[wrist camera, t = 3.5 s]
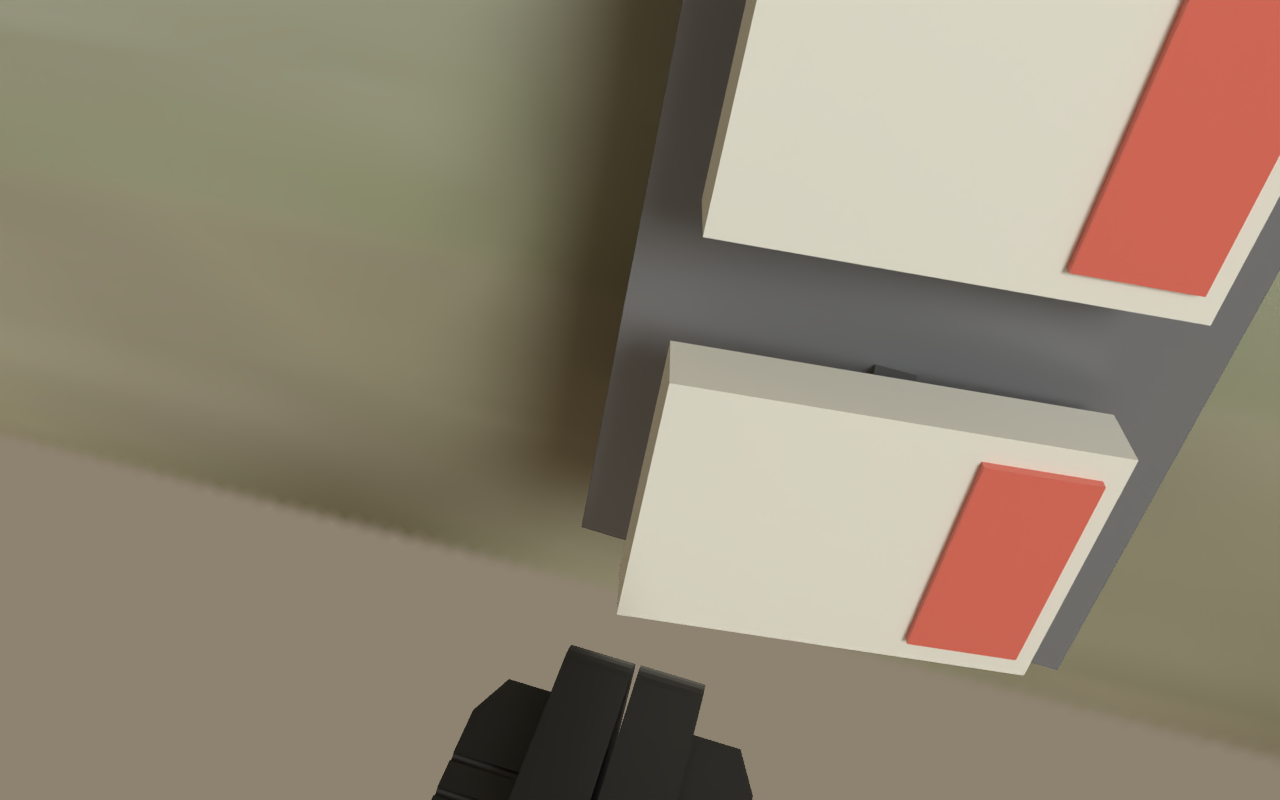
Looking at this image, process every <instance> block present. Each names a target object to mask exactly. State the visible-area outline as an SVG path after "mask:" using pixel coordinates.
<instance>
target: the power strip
mask: <svg viewBox="0 0 1280 800" xmlns="http://www.w3.org/2000/svg"><path fill="white" fill-rule="evenodd" d="M745 4H746V0H683V2H682V7H681V12H680V17H679V22H678V28H677V33H676V38H675V43H674V48H673V54H672V59H671V64H670V69H669V74H668V80H667V85H666V90H665V95H664V100H663V106H662V111H661V116H660V121H659V126H658V132H657V137H656V142H655V147H654V152H653V158H652V163H651V168H650V173H649V178H648V184H647V189H646V194H645V199H644V205H643V210H642V215H641V220H640V225H639V231H638V236H637V241H636V246H635V251H634V257H633V262H632V267H631V272H630V277H629V283H628V288H627V293H626V298H625V303H624V309H623V314H622V319H621V324H620V329H619V335H618V340H617V345H616V350H615V355H614V361H613V366H612V371H611V376H610V381H609V387H608V392H607V397H606V402H605V407H604V413H603V418H602V423H601V428H600V433H599V439H598V444H597V449H596V454H595V460H594V465H593V470H592V475H591V480H590V486H589V491H588V496H587V501H586V506H585V512H584V517H583V522H582V527H583V528H587V529H590V530H593V531H597V532H600V533H603V534H607V535H610V536H613V537H617V538H620V539H623V540H626V537H627V533H628V528H629V524H630V519H631V515H632V510H633V506H634V501H635V497H636V492H637V488H638V483H639V479H640V474H641V470H642V465H643V461H644V456H645V452H646V447H647V443H648V438H649V434H650V430H651V425H652V421H653V416H654V412H655V407H656V403H657V398H658V394H659V389H660V385H661V380H662V376H663V371H664V367H665V362H666V358H667V353H668V349H669V344H670V340H671V341H677V342H682V343H688V344H694V345H700V346H706V347H712V348H718V349H724V350H730V351H736V352H742V353H748V354H754V355H760V356H766V357H772V358H778V359H784V360H790V361H796V362H802V363H808V364H814V365H820V366H826V367H831V368H837V369H843V370H849V371H855V372H861V373H867V374H873V375H879V376H885V377H891V378H897V379H903V380H909V381H915V382H921V383H927V384H933V385H939V386H945V387H951V388H957V389H963V390H969V391H975V392H981V393H986V394H992V395H998V396H1004V397H1010V398H1016V399H1022V400H1028V401H1034V402H1040V403H1046V404H1052V405H1058V406H1064V407H1070V408H1076V409H1082V410H1088V411H1094V412H1100V413H1106V414H1112V415H1114V416H1115V418H1116V420H1117V422H1118V423H1119V425H1120V427H1121V429H1122V431H1123V433H1124V435H1125V436H1126V438H1127V440H1128V442H1129V444H1130V446H1131V447H1132V449H1133V451H1134V453H1135V455H1136V457H1137V459H1138V460H1139V461H1138V462H1137V464H1136V466H1135V468H1134V470H1133V472H1132V474H1131V476H1130V477H1129V479H1128V481H1127V483H1126V485H1125V487H1124V489H1123V491H1122V492H1121V494H1120V496H1119V498H1118V500H1117V502H1116V504H1115V506H1114V507H1113V509H1112V511H1111V513H1110V515H1109V517H1108V519H1107V521H1106V522H1105V524H1104V526H1103V528H1102V530H1101V532H1100V534H1099V535H1098V537H1097V539H1096V541H1095V543H1094V545H1093V547H1092V549H1091V550H1090V552H1089V554H1088V556H1087V558H1086V560H1085V562H1084V564H1083V565H1082V567H1081V569H1080V571H1079V573H1078V575H1077V577H1076V579H1075V580H1074V582H1073V584H1072V586H1071V588H1070V590H1069V592H1068V594H1067V595H1066V597H1065V599H1064V601H1063V603H1062V605H1061V607H1060V609H1059V610H1058V612H1057V614H1056V616H1055V618H1054V620H1053V622H1052V623H1051V625H1050V627H1049V629H1048V631H1047V633H1046V635H1045V637H1044V638H1043V640H1042V642H1041V644H1040V646H1039V648H1038V650H1037V652H1036V653H1035V655H1034V657H1033V659H1032V661H1031V662H1032V663H1035V664H1038V665H1042V666H1045V667H1048V668H1052V669H1055V670H1058V668H1059V666H1060V664H1061V662H1062V661H1063V659H1064V657H1065V655H1066V653H1067V652H1068V650H1069V648H1070V646H1071V644H1072V643H1073V641H1074V639H1075V637H1076V635H1077V634H1078V632H1079V630H1080V628H1081V626H1082V625H1083V623H1084V621H1085V619H1086V617H1087V616H1088V614H1089V612H1090V610H1091V608H1092V607H1093V605H1094V603H1095V601H1096V599H1097V598H1098V596H1099V594H1100V592H1101V590H1102V589H1103V587H1104V585H1105V583H1106V581H1107V580H1108V578H1109V576H1110V574H1111V572H1112V571H1113V569H1114V567H1115V565H1116V563H1117V562H1118V560H1119V558H1120V556H1121V555H1122V553H1123V551H1124V549H1125V547H1126V546H1127V544H1128V542H1129V540H1130V538H1131V537H1132V535H1133V533H1134V531H1135V529H1136V528H1137V526H1138V524H1139V522H1140V520H1141V519H1142V517H1143V515H1144V513H1145V511H1146V510H1147V508H1148V506H1149V504H1150V502H1151V501H1152V499H1153V497H1154V495H1155V493H1156V492H1157V490H1158V488H1159V486H1160V484H1161V483H1162V481H1163V479H1164V477H1165V475H1166V474H1167V472H1168V470H1169V468H1170V466H1171V465H1172V463H1173V461H1174V459H1175V457H1176V456H1177V454H1178V452H1179V450H1180V448H1181V447H1182V445H1183V443H1184V441H1185V439H1186V438H1187V436H1188V434H1189V432H1190V430H1191V429H1192V427H1193V425H1194V423H1195V421H1196V420H1197V418H1198V416H1199V414H1200V412H1201V411H1202V409H1203V407H1204V405H1205V403H1206V402H1207V400H1208V398H1209V396H1210V394H1211V393H1212V391H1213V389H1214V387H1215V385H1216V384H1217V382H1218V380H1219V378H1220V377H1221V375H1222V373H1223V371H1224V369H1225V368H1226V366H1227V364H1228V362H1229V360H1230V359H1231V357H1232V355H1233V353H1234V351H1235V350H1236V348H1237V346H1238V344H1239V342H1240V341H1241V339H1242V337H1243V335H1244V333H1245V332H1246V330H1247V328H1248V326H1249V324H1250V323H1251V321H1252V319H1253V317H1254V315H1255V314H1256V312H1257V310H1258V308H1259V306H1260V305H1261V303H1262V301H1263V299H1264V297H1265V296H1266V294H1267V292H1268V290H1269V288H1270V287H1271V285H1272V283H1273V281H1274V279H1275V278H1276V276H1277V274H1278V272H1279V270H1280V197H1279V198H1278V200H1277V202H1276V204H1275V206H1274V208H1273V210H1272V212H1271V213H1270V215H1269V217H1268V219H1267V221H1266V223H1265V225H1264V227H1263V228H1262V230H1261V232H1260V234H1259V236H1258V238H1257V240H1256V242H1255V243H1254V245H1253V247H1252V249H1251V251H1250V253H1249V255H1248V257H1247V258H1246V260H1245V262H1244V264H1243V266H1242V268H1241V270H1240V271H1239V273H1238V275H1237V277H1236V279H1235V281H1234V283H1233V285H1232V286H1231V288H1230V290H1229V292H1228V294H1227V296H1226V298H1225V300H1224V301H1223V303H1222V305H1221V307H1220V309H1219V311H1218V313H1217V315H1216V316H1215V318H1214V320H1213V322H1212V324H1211V326H1209V325H1203V324H1198V323H1192V322H1186V321H1180V320H1175V319H1169V318H1163V317H1158V316H1152V315H1146V314H1140V313H1135V312H1129V311H1123V310H1117V309H1112V308H1106V307H1100V306H1094V305H1089V304H1083V303H1077V302H1072V301H1066V300H1060V299H1054V298H1049V297H1043V296H1037V295H1031V294H1026V293H1020V292H1014V291H1009V290H1003V289H997V288H991V287H986V286H980V285H974V284H968V283H963V282H957V281H951V280H946V279H940V278H934V277H928V276H923V275H917V274H911V273H905V272H900V271H894V270H888V269H883V268H877V267H871V266H865V265H860V264H854V263H848V262H842V261H837V260H831V259H825V258H819V257H814V256H808V255H802V254H797V253H791V252H785V251H779V250H774V249H768V248H762V247H756V246H751V245H745V244H739V243H734V242H728V241H722V240H716V239H711V238H705V237H703V228H702V196H703V192H704V187H705V183H706V179H707V174H708V170H709V165H710V161H711V156H712V152H713V147H714V143H715V138H716V134H717V129H718V125H719V120H720V116H721V111H722V107H723V102H724V98H725V93H726V89H727V84H728V80H729V75H730V71H731V66H732V62H733V58H734V53H735V49H736V44H737V40H738V35H739V31H740V26H741V22H742V17H743V13H744V8H745Z"/></svg>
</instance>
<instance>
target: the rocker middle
mask: <svg viewBox="0 0 1280 800" xmlns="http://www.w3.org/2000/svg"><path fill="white" fill-rule="evenodd" d="M1279 197H1280V0H746V4H745V8H744V13H743V17H742V22H741V26H740V31H739V35H738V40H737V44H736V49H735V53H734V58H733V62H732V66H731V71H730V75H729V80H728V84H727V89H726V93H725V98H724V102H723V107H722V111H721V116H720V120H719V125H718V129H717V134H716V138H715V143H714V147H713V152H712V156H711V161H710V165H709V170H708V174H707V179H706V183H705V187H704V192H703V196H702V228H703V237H705V238H711V239H716V240H722V241H728V242H734V243H739V244H745V245H751V246H756V247H762V248H768V249H774V250H779V251H785V252H791V253H797V254H802V255H808V256H814V257H819V258H825V259H831V260H837V261H842V262H848V263H854V264H860V265H865V266H871V267H877V268H883V269H888V270H894V271H900V272H905V273H911V274H917V275H923V276H928V277H934V278H940V279H946V280H951V281H957V282H963V283H968V284H974V285H980V286H986V287H991V288H997V289H1003V290H1009V291H1014V292H1020V293H1026V294H1031V295H1037V296H1043V297H1049V298H1054V299H1060V300H1066V301H1072V302H1077V303H1083V304H1089V305H1094V306H1100V307H1106V308H1112V309H1117V310H1123V311H1129V312H1135V313H1140V314H1146V315H1152V316H1158V317H1163V318H1169V319H1175V320H1180V321H1186V322H1192V323H1198V324H1203V325H1209V326H1211V324H1212V322H1213V320H1214V318H1215V316H1216V315H1217V313H1218V311H1219V309H1220V307H1221V305H1222V303H1223V301H1224V300H1225V298H1226V296H1227V294H1228V292H1229V290H1230V288H1231V286H1232V285H1233V283H1234V281H1235V279H1236V277H1237V275H1238V273H1239V271H1240V270H1241V268H1242V266H1243V264H1244V262H1245V260H1246V258H1247V257H1248V255H1249V253H1250V251H1251V249H1252V247H1253V245H1254V243H1255V242H1256V240H1257V238H1258V236H1259V234H1260V232H1261V230H1262V228H1263V227H1264V225H1265V223H1266V221H1267V219H1268V217H1269V215H1270V213H1271V212H1272V210H1273V208H1274V206H1275V204H1276V202H1277V200H1278V198H1279Z"/></svg>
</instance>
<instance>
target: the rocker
mask: <svg viewBox="0 0 1280 800" xmlns="http://www.w3.org/2000/svg"><path fill="white" fill-rule="evenodd" d="M1138 461H1139V460H1138V459H1137V457H1136V455H1135V453H1134V451H1133V449H1132V447H1131V446H1130V444H1129V442H1128V440H1127V438H1126V436H1125V435H1124V433H1123V431H1122V429H1121V427H1120V425H1119V423H1118V422H1117V420H1116V418H1115V416H1114V415H1112V414H1106V413H1100V412H1094V411H1088V410H1082V409H1076V408H1070V407H1064V406H1058V405H1052V404H1046V403H1040V402H1034V401H1028V400H1022V399H1016V398H1010V397H1004V396H998V395H992V394H986V393H981V392H975V391H969V390H963V389H957V388H951V387H945V386H939V385H933V384H927V383H921V382H915V381H909V380H903V379H897V378H891V377H885V376H879V375H873V374H867V373H861V372H855V371H849V370H843V369H837V368H831V367H826V366H820V365H814V364H808V363H802V362H796V361H790V360H784V359H778V358H772V357H766V356H760V355H754V354H748V353H742V352H736V351H730V350H724V349H718V348H712V347H706V346H700V345H694V344H688V343H682V342H677V341H671V340H670V344H669V349H668V353H667V358H666V362H665V367H664V371H663V376H662V380H661V385H660V389H659V394H658V398H657V403H656V407H655V412H654V416H653V421H652V425H651V430H650V434H649V438H648V443H647V447H646V452H645V456H644V461H643V465H642V470H641V474H640V479H639V483H638V488H637V492H636V497H635V501H634V506H633V510H632V515H631V519H630V524H629V528H628V533H627V537H626V542H625V546H624V551H623V555H622V559H621V564H620V574H619V588H618V602H617V614H618V615H624V616H631V617H638V618H645V619H651V620H658V621H665V622H671V623H678V624H684V625H691V626H698V627H704V628H711V629H718V630H724V631H731V632H737V633H744V634H751V635H757V636H764V637H771V638H777V639H784V640H791V641H797V642H804V643H811V644H817V645H824V646H831V647H837V648H844V649H851V650H857V651H864V652H871V653H877V654H884V655H891V656H897V657H904V658H911V659H917V660H924V661H931V662H937V663H944V664H951V665H957V666H964V667H971V668H977V669H984V670H991V671H997V672H1004V673H1010V674H1017V675H1024V674H1025V672H1026V670H1027V668H1028V667H1029V665H1030V663H1031V661H1032V659H1033V657H1034V655H1035V653H1036V652H1037V650H1038V648H1039V646H1040V644H1041V642H1042V640H1043V638H1044V637H1045V635H1046V633H1047V631H1048V629H1049V627H1050V625H1051V623H1052V622H1053V620H1054V618H1055V616H1056V614H1057V612H1058V610H1059V609H1060V607H1061V605H1062V603H1063V601H1064V599H1065V597H1066V595H1067V594H1068V592H1069V590H1070V588H1071V586H1072V584H1073V582H1074V580H1075V579H1076V577H1077V575H1078V573H1079V571H1080V569H1081V567H1082V565H1083V564H1084V562H1085V560H1086V558H1087V556H1088V554H1089V552H1090V550H1091V549H1092V547H1093V545H1094V543H1095V541H1096V539H1097V537H1098V535H1099V534H1100V532H1101V530H1102V528H1103V526H1104V524H1105V522H1106V521H1107V519H1108V517H1109V515H1110V513H1111V511H1112V509H1113V507H1114V506H1115V504H1116V502H1117V500H1118V498H1119V496H1120V494H1121V492H1122V491H1123V489H1124V487H1125V485H1126V483H1127V481H1128V479H1129V477H1130V476H1131V474H1132V472H1133V470H1134V468H1135V466H1136V464H1137V462H1138Z"/></svg>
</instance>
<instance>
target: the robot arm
mask: <svg viewBox="0 0 1280 800" xmlns="http://www.w3.org/2000/svg"><path fill="white" fill-rule="evenodd" d="M634 669H635V664H633V663H630V662H627V661H623V660H620V659H617V658H613V657H610V656H607V655H603V654H600V653H596V652H593V651H590V650H587V649H583V648H580V647H577V646H573V645H571V646H570V648H569V650H568V652H567V654H566V656H565V658H564V661H563V663H562V666H561V669H560V671H559V674H558V676H557V679H556V681H555V683H554V686H553V688H552V691H551V692H549V691H546V690H543V689H539V688H536V687H533V686H530V685H526V684H523V683H520V682H517V681H513V680H510V679H509V680H507V681H506V682H505V683H504V684H503V685H502V686H501V687H499V688H498V689H497V690H496V691H495V692H494V693H493V694H491V695H490V696H489V697H488V698H487V699H485V700H484V701H483V702H482V703H481V704H480V705H479V706H477V707H476V708H475V709H474V710H473V712H472V714H471V716H470V718H469V720H468V723H467V725H466V727H465V729H464V731H463V733H462V735H461V738H460V740H459V742H458V744H457V746H456V748H455V751H454V754H453V757H452V759H451V760H450V761H449V763H448V765H447V768H446V770H445V772H444V774H443V776H442V778H441V780H440V783H439V785H438V788H437V791H436V794H435V796H433V798H432V800H752V797H753V795H752V792H751V788H750V784H749V780H748V776H747V773H746V769H745V765H744V761H743V757H742V754H741V750H740V749H737V748H734V747H731V746H727V745H724V744H721V743H718V742H714V741H711V740H708V739H704V738H701V737H698V736H695V735H693V734H694V730H695V726H696V722H697V718H698V714H699V710H700V706H701V702H702V697H703V693H704V689H705V685H704V684H701V683H698V682H694V681H691V680H688V679H684V678H681V677H678V676H675V675H671V674H668V673H664V672H661V671H658V670H654V669H651V668H648V667H645V666H641V667H640V669H639V672H638V675H637V678H636V681H635V684H634V687H633V691H632V694H631V697H630V700H629V703H628V706H627V710H626V713H625V716H624V719H623V722H622V718H623V714H624V710H625V706H626V702H627V697H628V694H629V690H630V686H631V682H632V677H633V673H634ZM621 722H622V725H621ZM620 726H621V728H620ZM619 730H620V732H619ZM618 734H619V735H618Z"/></svg>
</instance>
